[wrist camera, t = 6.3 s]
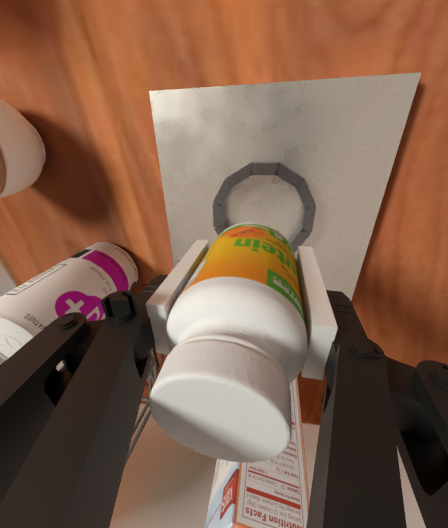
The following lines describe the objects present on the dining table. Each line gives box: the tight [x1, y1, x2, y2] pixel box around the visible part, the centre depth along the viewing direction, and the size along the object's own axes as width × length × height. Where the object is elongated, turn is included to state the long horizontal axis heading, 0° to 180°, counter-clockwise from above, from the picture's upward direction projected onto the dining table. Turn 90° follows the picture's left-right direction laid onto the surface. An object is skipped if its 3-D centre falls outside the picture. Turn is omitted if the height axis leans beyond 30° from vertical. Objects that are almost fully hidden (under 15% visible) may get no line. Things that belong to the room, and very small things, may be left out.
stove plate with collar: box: [149, 73, 421, 301], centre depth 24 cm, size 22×22×3 cm
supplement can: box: [0, 242, 138, 360], centre depth 27 cm, size 8×8×15 cm
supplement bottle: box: [149, 222, 308, 463], centre depth 10 cm, size 5×5×10 cm
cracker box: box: [205, 377, 310, 528], centre depth 26 cm, size 14×6×21 cm, turn 168°
